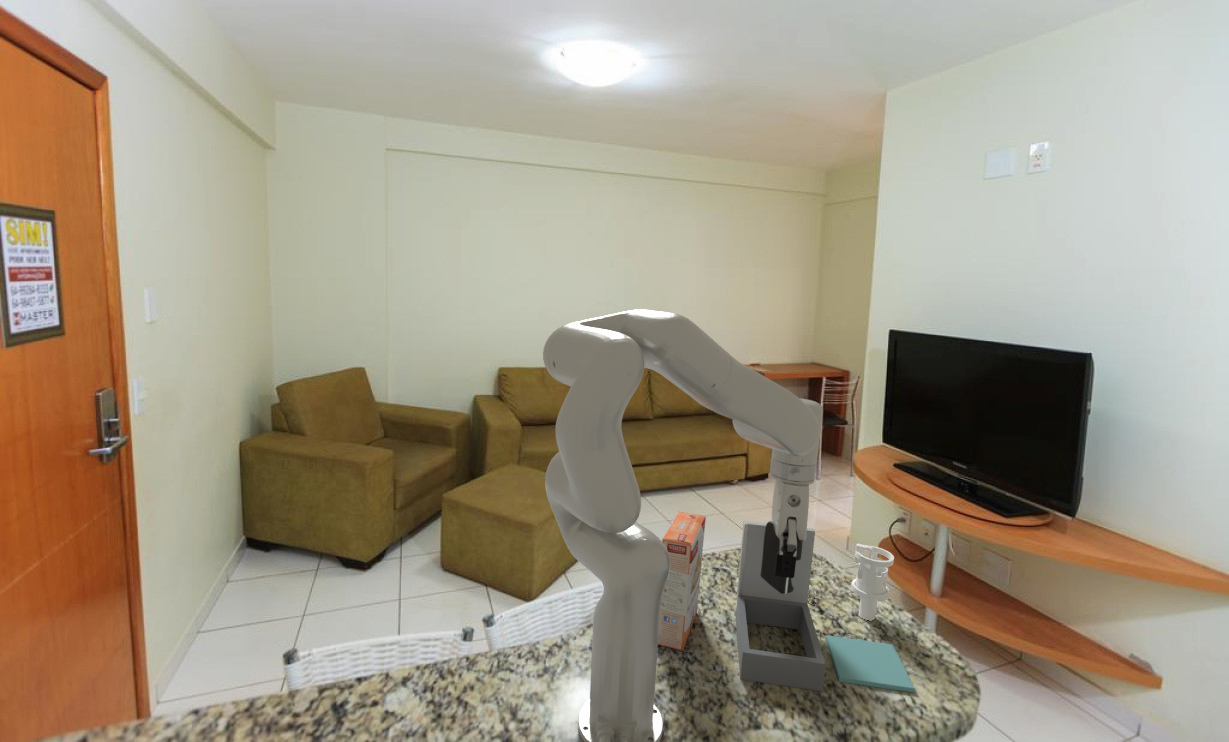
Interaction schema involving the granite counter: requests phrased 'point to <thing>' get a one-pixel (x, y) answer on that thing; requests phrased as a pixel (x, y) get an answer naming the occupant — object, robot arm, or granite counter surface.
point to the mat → (868, 663)
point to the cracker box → (681, 579)
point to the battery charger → (769, 560)
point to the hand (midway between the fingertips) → (781, 564)
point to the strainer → (871, 579)
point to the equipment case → (776, 617)
